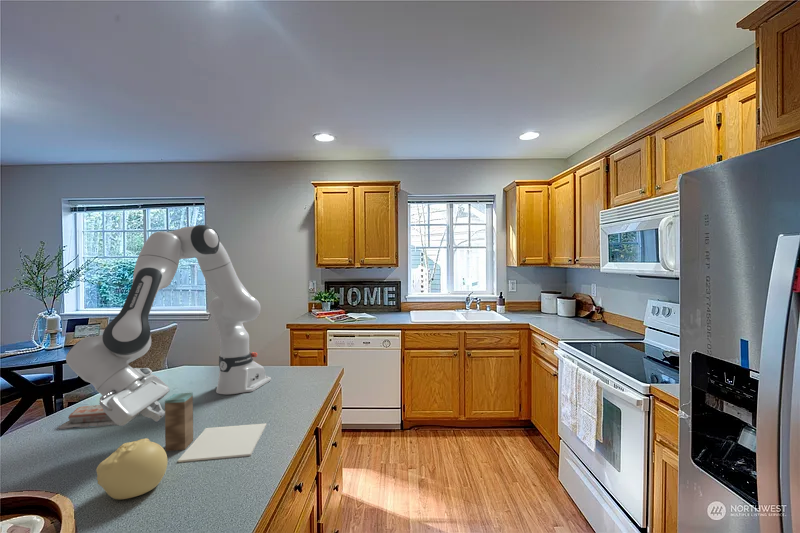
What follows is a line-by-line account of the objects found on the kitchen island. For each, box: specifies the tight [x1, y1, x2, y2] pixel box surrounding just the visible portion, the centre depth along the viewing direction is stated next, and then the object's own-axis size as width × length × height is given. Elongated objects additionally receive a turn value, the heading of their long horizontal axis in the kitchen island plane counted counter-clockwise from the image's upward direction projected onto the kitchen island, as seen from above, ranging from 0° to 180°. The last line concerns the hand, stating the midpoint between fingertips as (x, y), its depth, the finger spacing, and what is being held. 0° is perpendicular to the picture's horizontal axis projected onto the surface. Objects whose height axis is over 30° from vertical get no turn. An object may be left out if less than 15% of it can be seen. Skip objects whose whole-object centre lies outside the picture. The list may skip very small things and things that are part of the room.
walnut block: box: [164, 392, 194, 452], centre depth 97 cm, size 5×5×14 cm
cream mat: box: [177, 422, 267, 463], centre depth 99 cm, size 18×18×1 cm
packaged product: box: [58, 404, 118, 430], centre depth 114 cm, size 18×5×10 cm
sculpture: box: [95, 438, 169, 500], centre depth 78 cm, size 12×12×11 cm
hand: (161, 417), depth 96 cm, fingers closed
